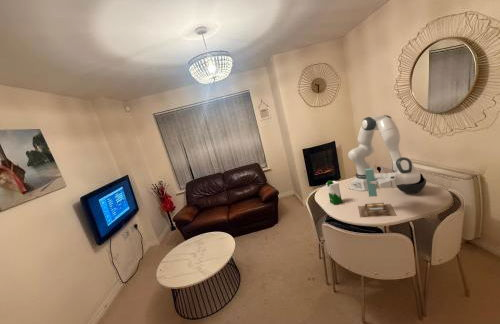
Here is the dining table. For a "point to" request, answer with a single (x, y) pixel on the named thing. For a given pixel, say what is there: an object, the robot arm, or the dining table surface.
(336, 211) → the dining table surface
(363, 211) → the offcut rack
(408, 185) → the coal bowl
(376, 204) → the oak offcut
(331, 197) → the milk carton
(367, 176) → the teal slat
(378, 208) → the grey offcut
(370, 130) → the robot arm
